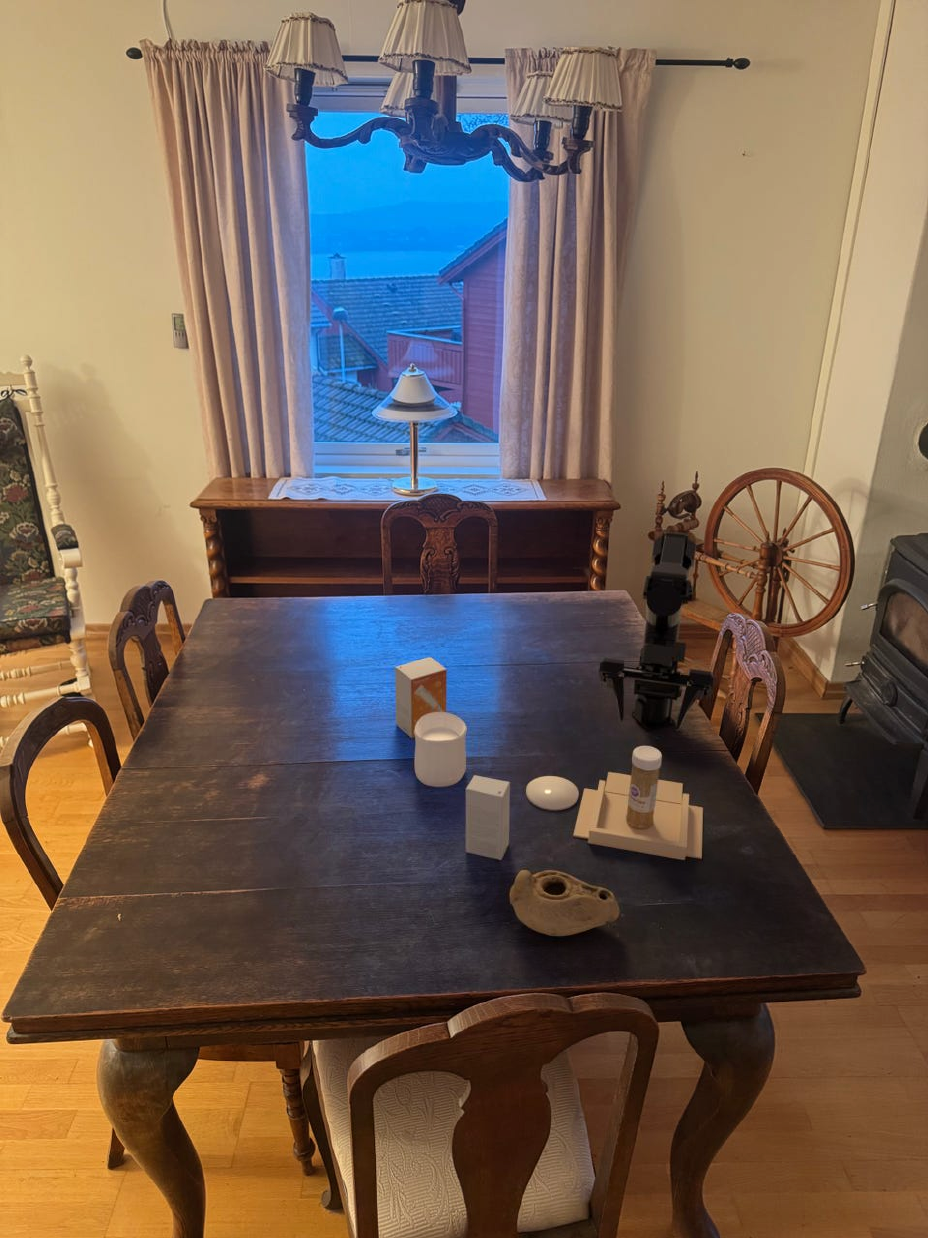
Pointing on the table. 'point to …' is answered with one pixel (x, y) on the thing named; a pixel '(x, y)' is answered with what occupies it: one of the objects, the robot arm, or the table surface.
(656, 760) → the sprinkles bottle
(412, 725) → the small box
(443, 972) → the table surface
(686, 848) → the carton
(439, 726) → the cup
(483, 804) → the skincare box
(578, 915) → the oil lamp
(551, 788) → the coaster
